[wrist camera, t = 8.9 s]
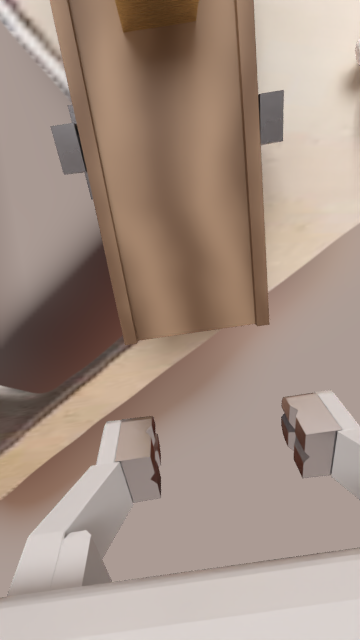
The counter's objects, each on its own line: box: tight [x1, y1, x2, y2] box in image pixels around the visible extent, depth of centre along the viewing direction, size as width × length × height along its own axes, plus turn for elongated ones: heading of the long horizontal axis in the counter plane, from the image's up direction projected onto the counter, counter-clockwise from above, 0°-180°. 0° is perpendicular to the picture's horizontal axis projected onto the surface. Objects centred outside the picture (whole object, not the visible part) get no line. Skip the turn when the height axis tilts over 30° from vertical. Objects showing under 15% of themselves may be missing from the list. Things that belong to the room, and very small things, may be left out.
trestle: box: [51, 90, 284, 199], centre depth 24 cm, size 17×18×10 cm
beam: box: [50, 0, 269, 345], centre depth 22 cm, size 12×30×3 cm, turn 8°
